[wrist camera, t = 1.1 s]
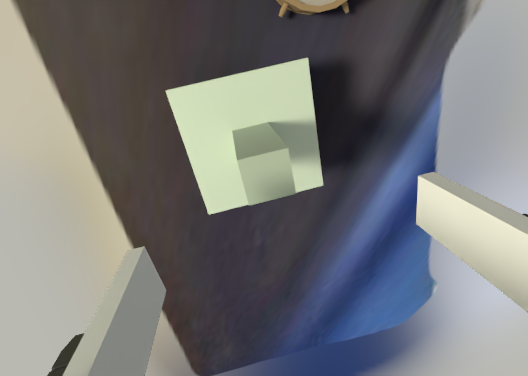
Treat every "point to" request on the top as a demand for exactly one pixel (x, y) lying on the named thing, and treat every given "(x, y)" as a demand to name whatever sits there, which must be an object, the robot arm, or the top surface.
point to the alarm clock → (311, 6)
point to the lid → (250, 134)
